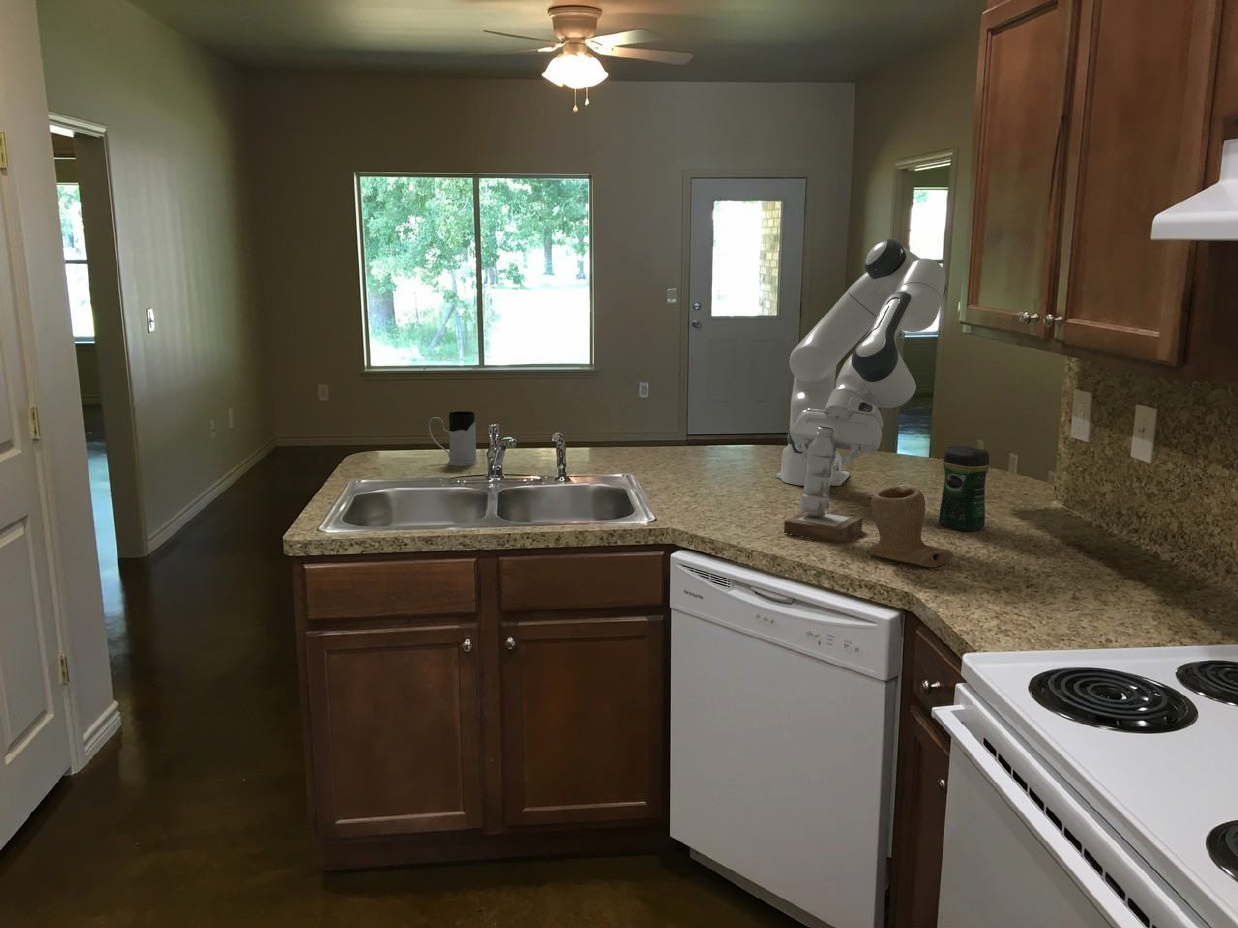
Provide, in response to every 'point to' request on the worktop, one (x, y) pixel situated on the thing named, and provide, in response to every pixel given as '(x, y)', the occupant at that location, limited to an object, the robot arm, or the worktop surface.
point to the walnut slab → (824, 526)
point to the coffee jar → (964, 488)
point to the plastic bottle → (818, 473)
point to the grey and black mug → (460, 438)
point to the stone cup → (903, 528)
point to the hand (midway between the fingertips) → (824, 461)
